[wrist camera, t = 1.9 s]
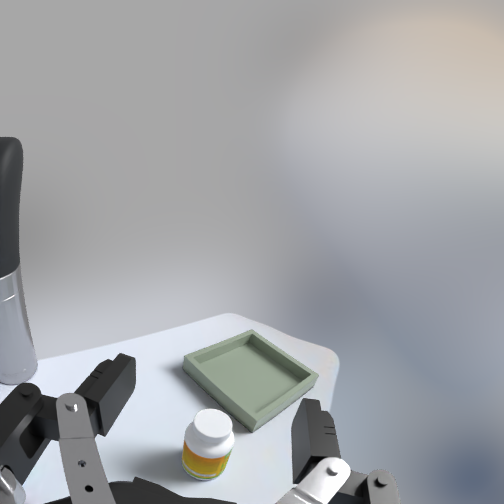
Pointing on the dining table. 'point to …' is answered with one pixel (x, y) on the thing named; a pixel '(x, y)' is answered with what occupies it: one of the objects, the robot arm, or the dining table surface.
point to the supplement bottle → (207, 444)
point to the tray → (249, 377)
